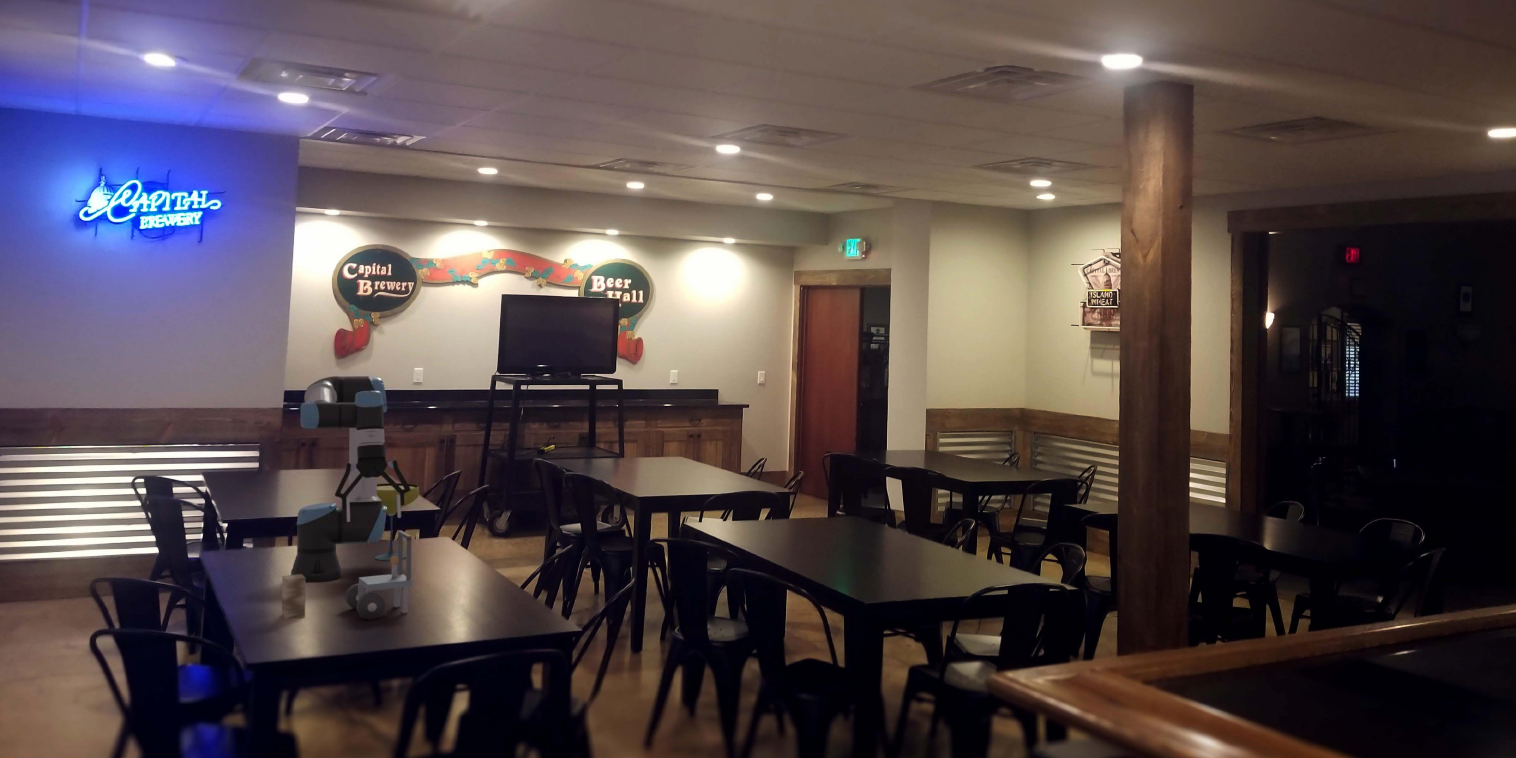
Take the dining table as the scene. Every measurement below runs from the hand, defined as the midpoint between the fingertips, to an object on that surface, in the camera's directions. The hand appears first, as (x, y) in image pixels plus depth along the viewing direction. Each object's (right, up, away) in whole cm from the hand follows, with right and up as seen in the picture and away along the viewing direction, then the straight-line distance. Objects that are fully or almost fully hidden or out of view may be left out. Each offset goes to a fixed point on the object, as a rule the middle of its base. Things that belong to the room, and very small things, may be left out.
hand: (374, 519), depth 308 cm
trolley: (+1, -26, -1) cm, 26 cm away
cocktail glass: (-20, -23, +72) cm, 78 cm away
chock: (-20, -26, -8) cm, 33 cm away
